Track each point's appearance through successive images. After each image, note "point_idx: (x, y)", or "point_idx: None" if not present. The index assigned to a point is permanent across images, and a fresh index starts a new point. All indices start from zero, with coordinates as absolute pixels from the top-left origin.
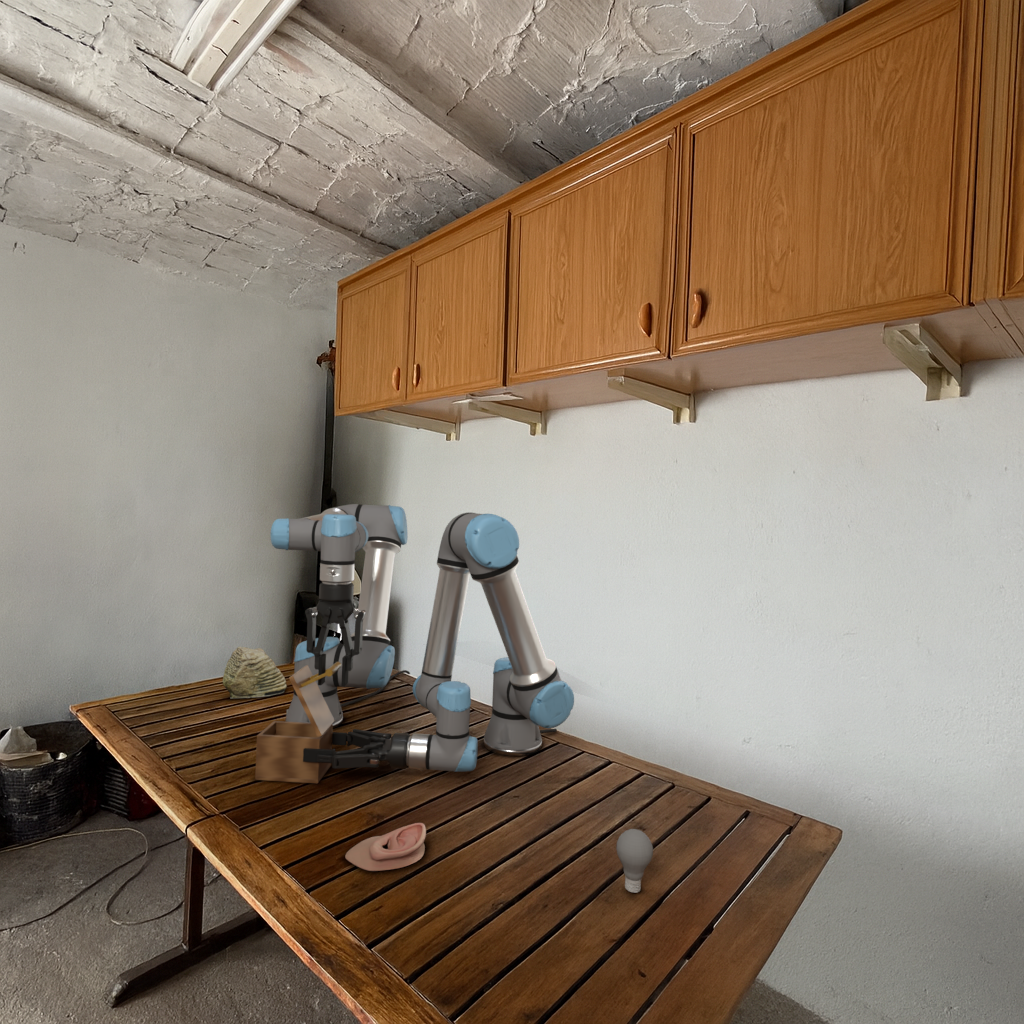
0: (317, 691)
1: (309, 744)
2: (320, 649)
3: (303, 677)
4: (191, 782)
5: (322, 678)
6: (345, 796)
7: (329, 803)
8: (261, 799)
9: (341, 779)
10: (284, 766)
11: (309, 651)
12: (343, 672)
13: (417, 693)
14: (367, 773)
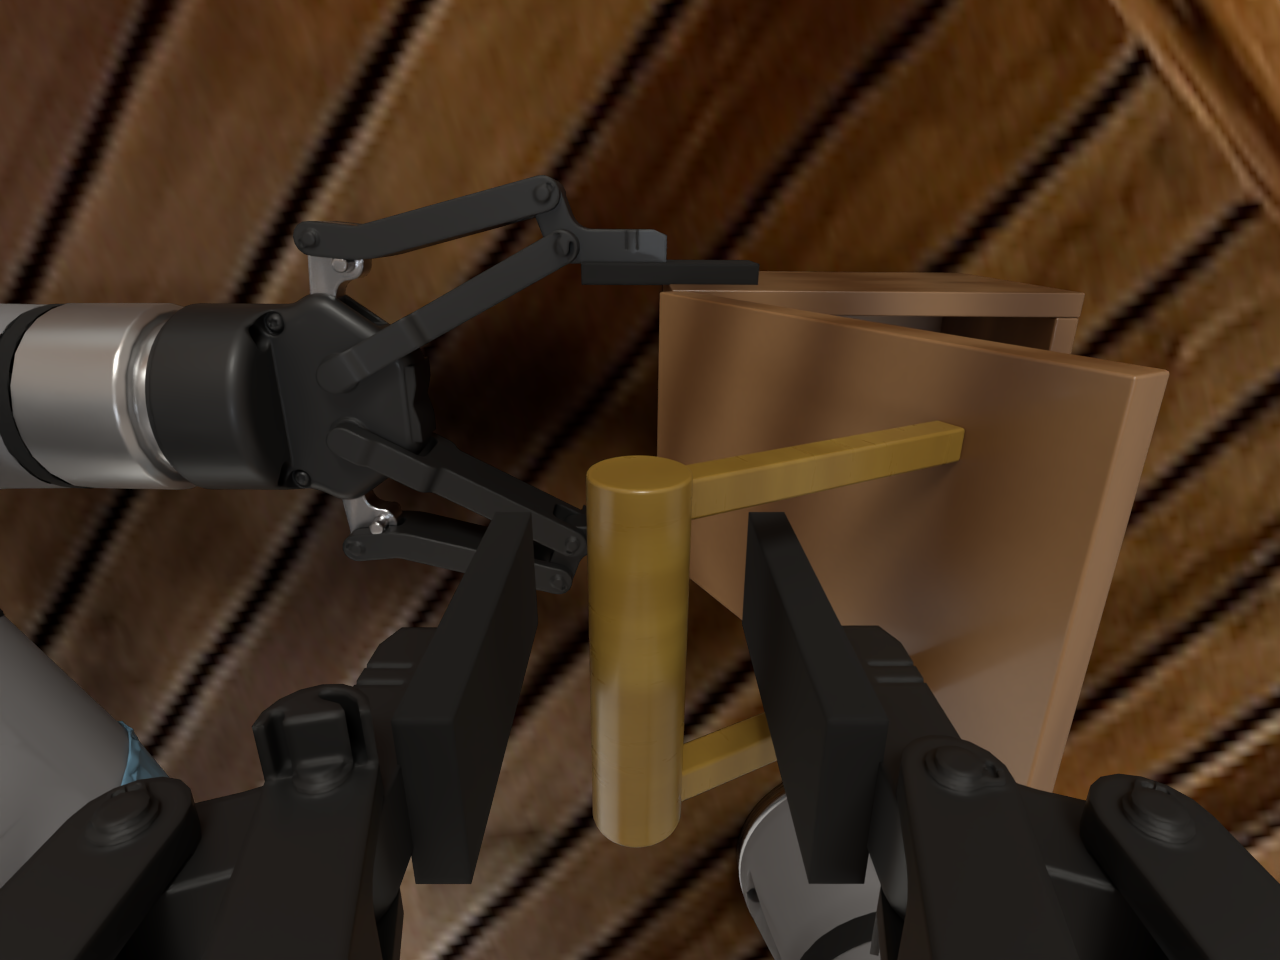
0: None
1: (732, 287)
2: (919, 839)
3: (980, 584)
4: (1246, 215)
5: (756, 572)
6: (495, 150)
7: (544, 63)
8: (875, 68)
9: (570, 327)
10: (842, 277)
11: (1128, 792)
12: (481, 586)
13: (87, 773)
14: (475, 402)
